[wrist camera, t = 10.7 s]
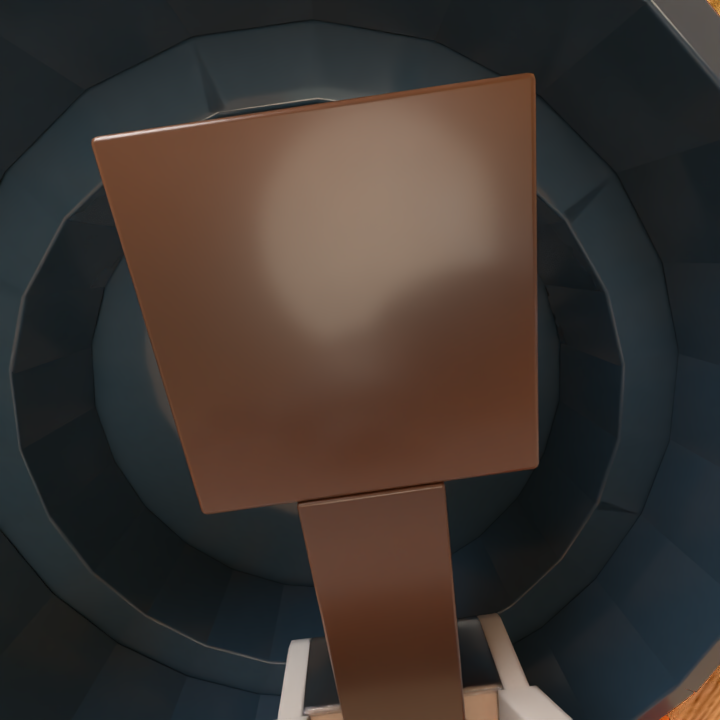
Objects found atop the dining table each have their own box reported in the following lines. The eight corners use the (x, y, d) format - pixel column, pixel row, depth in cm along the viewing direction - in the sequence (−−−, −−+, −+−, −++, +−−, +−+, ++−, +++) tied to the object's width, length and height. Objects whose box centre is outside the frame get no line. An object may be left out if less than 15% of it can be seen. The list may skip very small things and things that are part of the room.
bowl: (594, 578, 17) (755, 787, 10) (141, 638, 17) (7, 885, 10) (619, 31, 11) (1017, -302, 5) (-57, 127, 11) (-636, -60, 5)
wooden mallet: (479, 649, 12) (544, 844, 8) (322, 670, 12) (308, 875, 8) (445, 161, 8) (538, 67, 4) (213, 195, 8) (84, 134, 4)
